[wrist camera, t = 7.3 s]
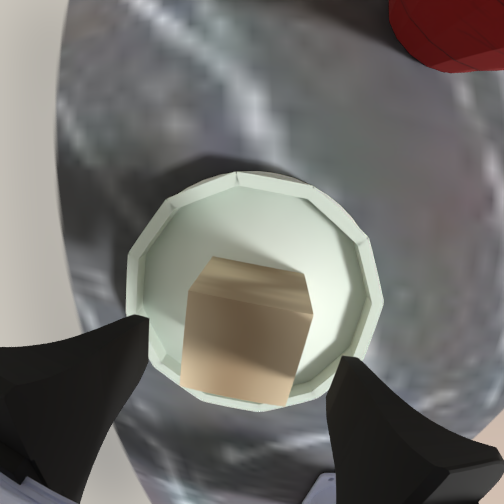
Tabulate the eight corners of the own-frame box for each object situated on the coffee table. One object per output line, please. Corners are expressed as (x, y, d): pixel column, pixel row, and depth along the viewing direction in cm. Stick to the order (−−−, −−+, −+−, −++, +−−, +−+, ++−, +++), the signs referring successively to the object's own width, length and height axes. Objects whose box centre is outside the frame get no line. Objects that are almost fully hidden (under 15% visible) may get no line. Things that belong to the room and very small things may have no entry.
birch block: (304, 273, 15) (313, 314, 11) (284, 351, 17) (285, 406, 12) (212, 255, 15) (188, 290, 11) (201, 335, 17) (179, 386, 12)
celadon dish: (400, 201, 15) (414, 206, 13) (334, 404, 18) (337, 423, 17) (149, 153, 15) (134, 152, 13) (135, 366, 19) (124, 382, 17)
